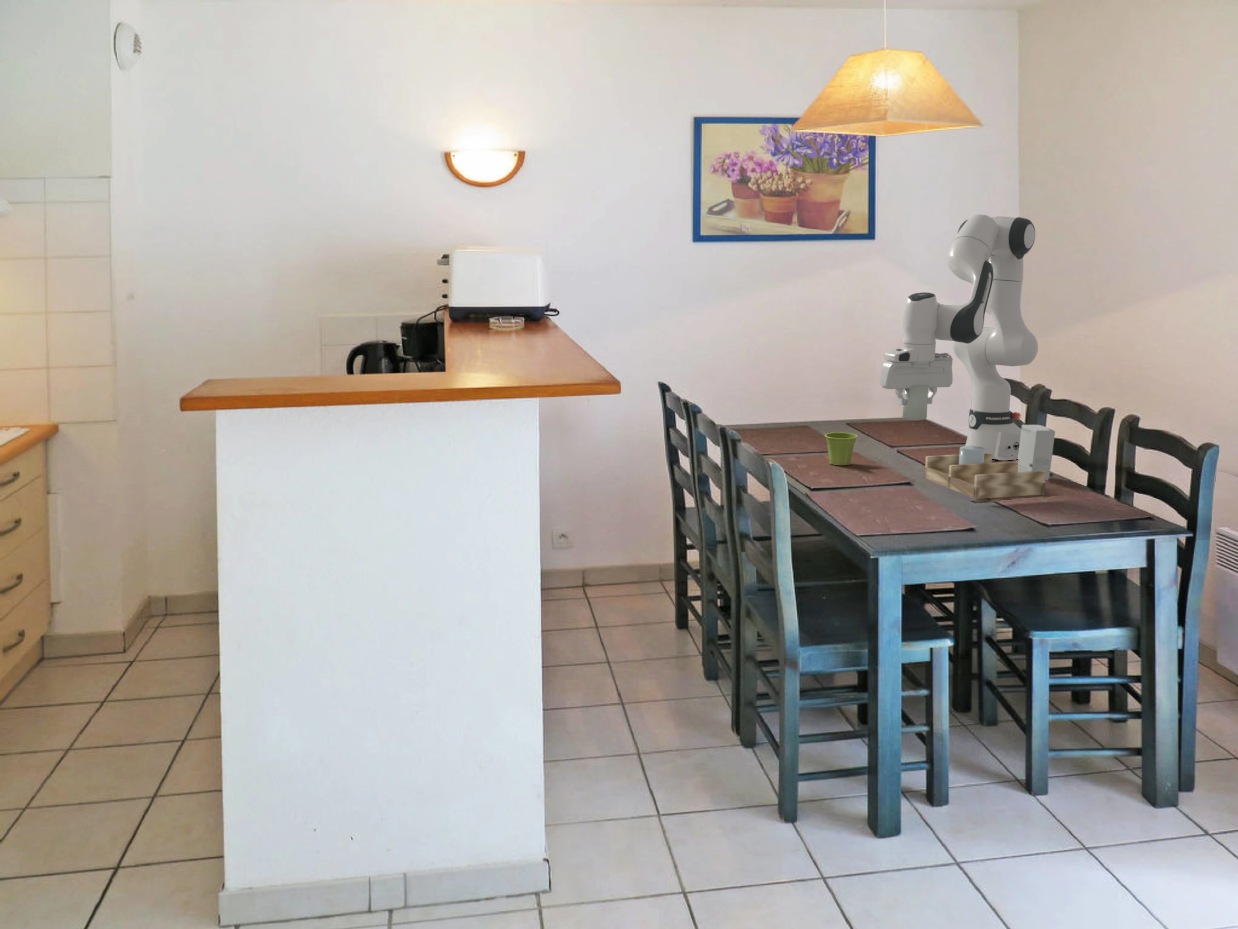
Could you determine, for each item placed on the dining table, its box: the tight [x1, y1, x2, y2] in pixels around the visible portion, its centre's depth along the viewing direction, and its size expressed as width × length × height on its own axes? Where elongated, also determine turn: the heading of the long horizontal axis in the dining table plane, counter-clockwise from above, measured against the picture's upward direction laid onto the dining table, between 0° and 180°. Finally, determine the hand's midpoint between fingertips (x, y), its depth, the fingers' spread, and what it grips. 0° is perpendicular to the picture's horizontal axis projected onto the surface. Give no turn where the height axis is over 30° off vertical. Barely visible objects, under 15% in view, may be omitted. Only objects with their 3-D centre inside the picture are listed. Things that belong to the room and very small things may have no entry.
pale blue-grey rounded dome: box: [958, 445, 985, 465], centre depth 301 cm, size 6×6×9 cm
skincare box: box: [1016, 424, 1056, 480], centre depth 307 cm, size 8×6×15 cm
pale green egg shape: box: [902, 385, 929, 420], centre depth 304 cm, size 6×6×9 cm
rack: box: [924, 453, 1046, 504], centre depth 295 cm, size 20×25×7 cm
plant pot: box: [824, 432, 858, 466], centre depth 328 cm, size 9×9×9 cm
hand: (915, 404), depth 304 cm, fingers closed on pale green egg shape, 6 cm apart
